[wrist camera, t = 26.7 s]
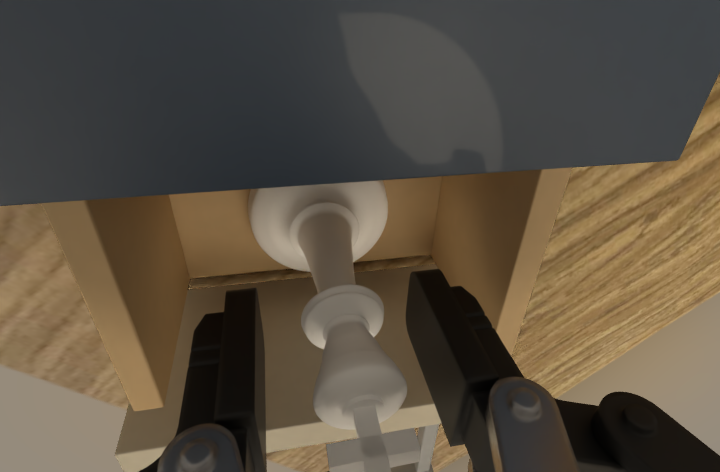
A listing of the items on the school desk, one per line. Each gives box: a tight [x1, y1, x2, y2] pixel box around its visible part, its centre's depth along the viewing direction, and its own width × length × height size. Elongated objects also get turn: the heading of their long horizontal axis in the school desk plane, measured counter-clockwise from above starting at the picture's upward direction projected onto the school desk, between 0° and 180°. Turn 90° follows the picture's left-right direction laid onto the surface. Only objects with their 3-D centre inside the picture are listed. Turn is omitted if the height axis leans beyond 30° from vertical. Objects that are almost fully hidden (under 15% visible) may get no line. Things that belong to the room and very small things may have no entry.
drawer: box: [41, 167, 573, 472], centre depth 15 cm, size 22×13×7 cm, turn 179°
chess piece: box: [248, 180, 421, 472], centre depth 12 cm, size 5×5×10 cm
